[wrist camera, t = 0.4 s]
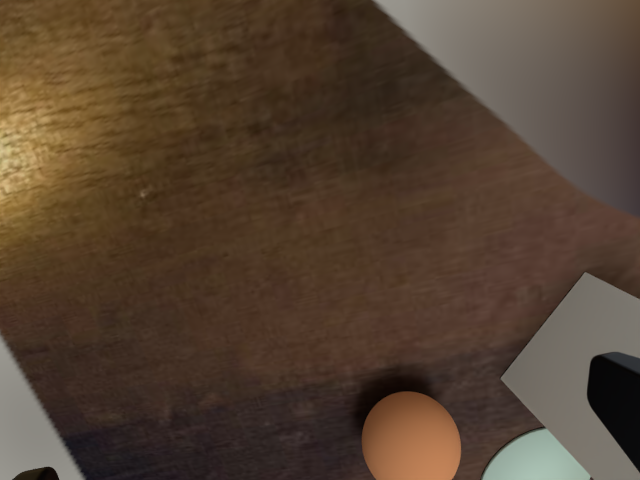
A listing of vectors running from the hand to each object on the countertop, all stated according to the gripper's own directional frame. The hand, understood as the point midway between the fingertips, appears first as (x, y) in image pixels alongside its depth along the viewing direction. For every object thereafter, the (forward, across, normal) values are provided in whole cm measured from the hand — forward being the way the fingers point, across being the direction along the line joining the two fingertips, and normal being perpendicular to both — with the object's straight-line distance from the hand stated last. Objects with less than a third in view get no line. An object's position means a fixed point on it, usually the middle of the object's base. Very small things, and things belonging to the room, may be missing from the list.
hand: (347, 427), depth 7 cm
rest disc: (+14, -15, +20) cm, 29 cm away
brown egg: (+12, -5, +12) cm, 18 cm away
